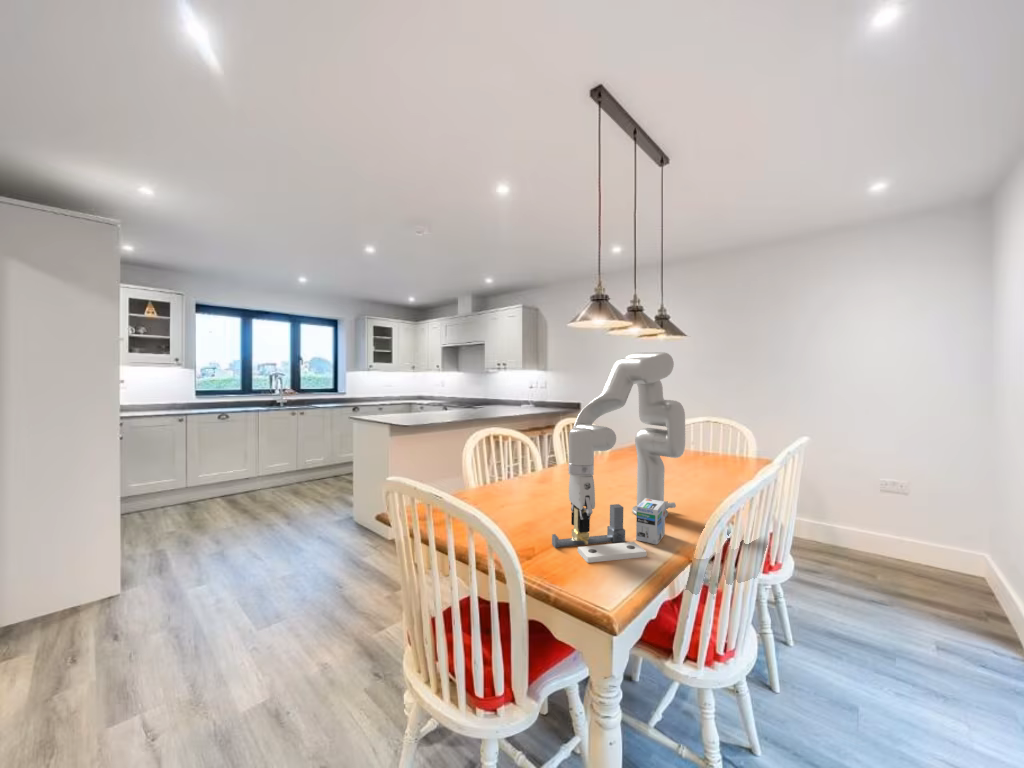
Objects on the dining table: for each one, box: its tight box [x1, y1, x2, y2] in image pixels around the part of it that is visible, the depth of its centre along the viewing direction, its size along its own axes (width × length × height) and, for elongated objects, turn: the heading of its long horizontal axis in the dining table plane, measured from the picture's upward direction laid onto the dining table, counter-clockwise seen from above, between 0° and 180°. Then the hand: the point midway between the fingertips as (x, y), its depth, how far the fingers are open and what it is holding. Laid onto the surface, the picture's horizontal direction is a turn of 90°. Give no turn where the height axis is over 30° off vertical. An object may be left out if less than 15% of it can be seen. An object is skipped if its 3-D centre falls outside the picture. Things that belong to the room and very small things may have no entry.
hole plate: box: [577, 541, 647, 564], centre depth 122 cm, size 18×7×2 cm, turn 103°
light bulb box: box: [635, 498, 666, 546], centre depth 135 cm, size 11×7×11 cm, turn 148°
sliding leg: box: [571, 506, 590, 545], centre depth 128 cm, size 4×7×9 cm, turn 13°
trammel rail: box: [551, 503, 626, 549], centre depth 128 cm, size 22×7×11 cm, turn 103°
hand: (580, 527), depth 129 cm, fingers open, 5 cm apart
